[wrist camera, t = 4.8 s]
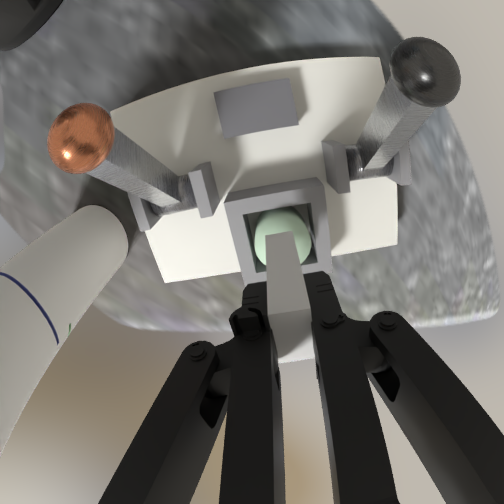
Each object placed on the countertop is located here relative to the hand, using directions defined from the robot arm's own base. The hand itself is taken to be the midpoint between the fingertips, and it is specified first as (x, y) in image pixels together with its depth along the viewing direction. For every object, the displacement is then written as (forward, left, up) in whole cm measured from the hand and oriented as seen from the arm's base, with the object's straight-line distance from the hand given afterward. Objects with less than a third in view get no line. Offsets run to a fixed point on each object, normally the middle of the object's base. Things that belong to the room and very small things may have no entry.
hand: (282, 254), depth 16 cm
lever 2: (-3, +7, -5) cm, 9 cm away
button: (0, 0, -5) cm, 5 cm away
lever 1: (-3, -6, -5) cm, 9 cm away
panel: (-4, 0, -8) cm, 9 cm away
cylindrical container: (-1, -17, -8) cm, 19 cm away
